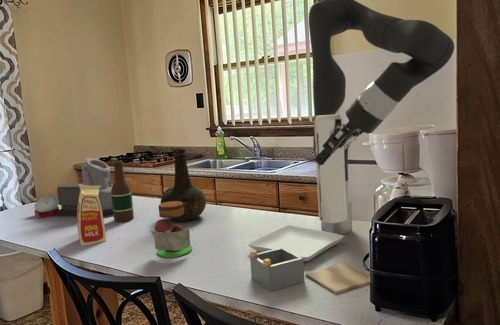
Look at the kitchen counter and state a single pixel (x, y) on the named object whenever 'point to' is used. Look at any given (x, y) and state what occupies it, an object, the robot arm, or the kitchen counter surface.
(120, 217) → the beer bottle
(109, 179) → the juicer
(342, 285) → the mat
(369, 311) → the kitchen counter surface
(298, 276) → the box
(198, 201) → the glass bottle
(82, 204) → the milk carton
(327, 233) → the salad plate
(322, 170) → the white tall cylinder
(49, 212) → the red white domed cylinder
